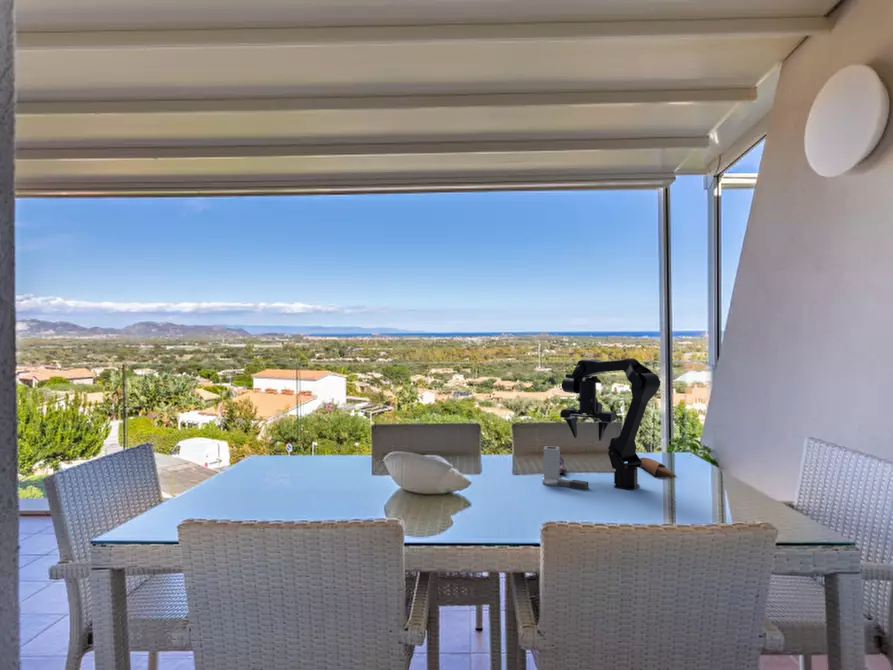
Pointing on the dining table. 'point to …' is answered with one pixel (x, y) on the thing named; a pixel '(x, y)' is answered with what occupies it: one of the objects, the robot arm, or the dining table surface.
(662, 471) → the sunglasses case
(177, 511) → the dining table surface
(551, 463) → the socket
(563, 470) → the skull
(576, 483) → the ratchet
